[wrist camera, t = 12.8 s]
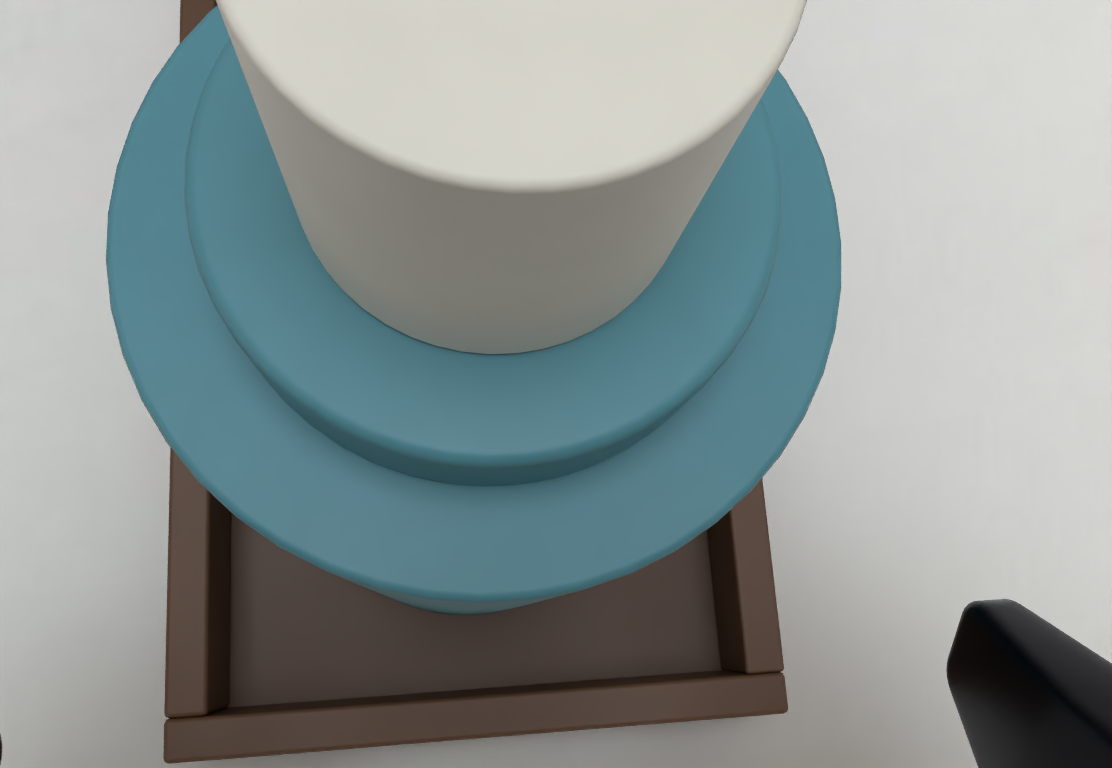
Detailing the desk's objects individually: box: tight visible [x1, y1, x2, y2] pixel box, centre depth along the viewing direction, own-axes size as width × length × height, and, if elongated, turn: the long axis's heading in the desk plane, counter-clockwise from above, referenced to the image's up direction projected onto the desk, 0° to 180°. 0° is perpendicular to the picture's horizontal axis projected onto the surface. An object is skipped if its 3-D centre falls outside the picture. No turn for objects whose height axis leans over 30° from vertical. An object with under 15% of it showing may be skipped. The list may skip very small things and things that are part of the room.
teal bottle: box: [106, 0, 841, 615], centre depth 10 cm, size 6×6×13 cm
